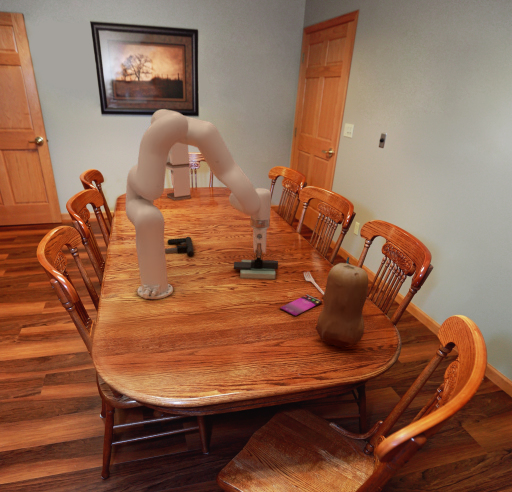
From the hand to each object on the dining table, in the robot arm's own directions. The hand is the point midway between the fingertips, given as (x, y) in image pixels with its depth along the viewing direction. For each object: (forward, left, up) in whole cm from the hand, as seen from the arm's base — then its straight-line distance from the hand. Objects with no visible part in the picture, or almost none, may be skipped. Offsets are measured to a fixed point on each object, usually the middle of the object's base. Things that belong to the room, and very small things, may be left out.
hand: (258, 266), depth 164 cm
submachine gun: (+21, +37, -3) cm, 43 cm away
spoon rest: (0, 0, -2) cm, 2 cm away
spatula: (0, 0, 0) cm, 0 cm away
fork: (-12, -22, -2) cm, 26 cm away
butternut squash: (-52, -24, -2) cm, 58 cm away
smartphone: (-29, -15, -2) cm, 33 cm away
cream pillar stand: (+116, +53, -2) cm, 127 cm away
